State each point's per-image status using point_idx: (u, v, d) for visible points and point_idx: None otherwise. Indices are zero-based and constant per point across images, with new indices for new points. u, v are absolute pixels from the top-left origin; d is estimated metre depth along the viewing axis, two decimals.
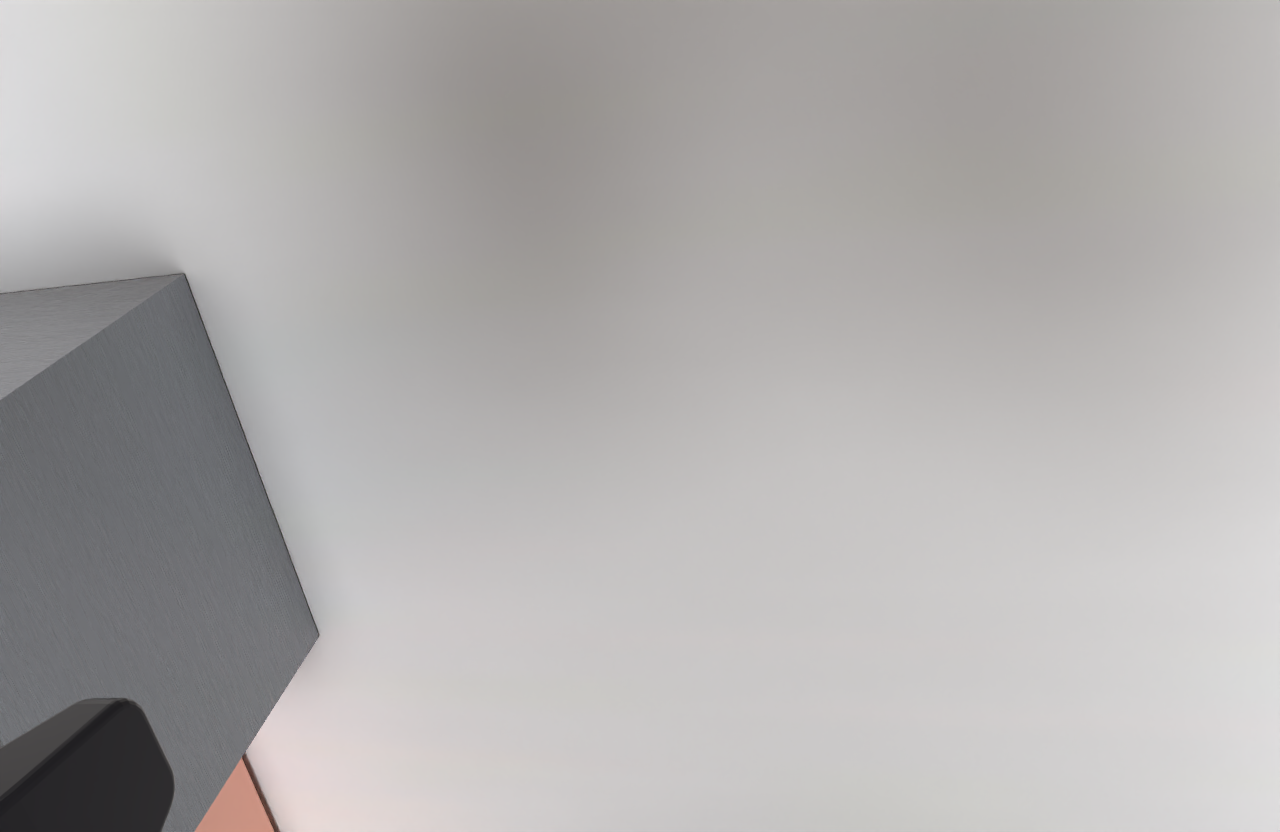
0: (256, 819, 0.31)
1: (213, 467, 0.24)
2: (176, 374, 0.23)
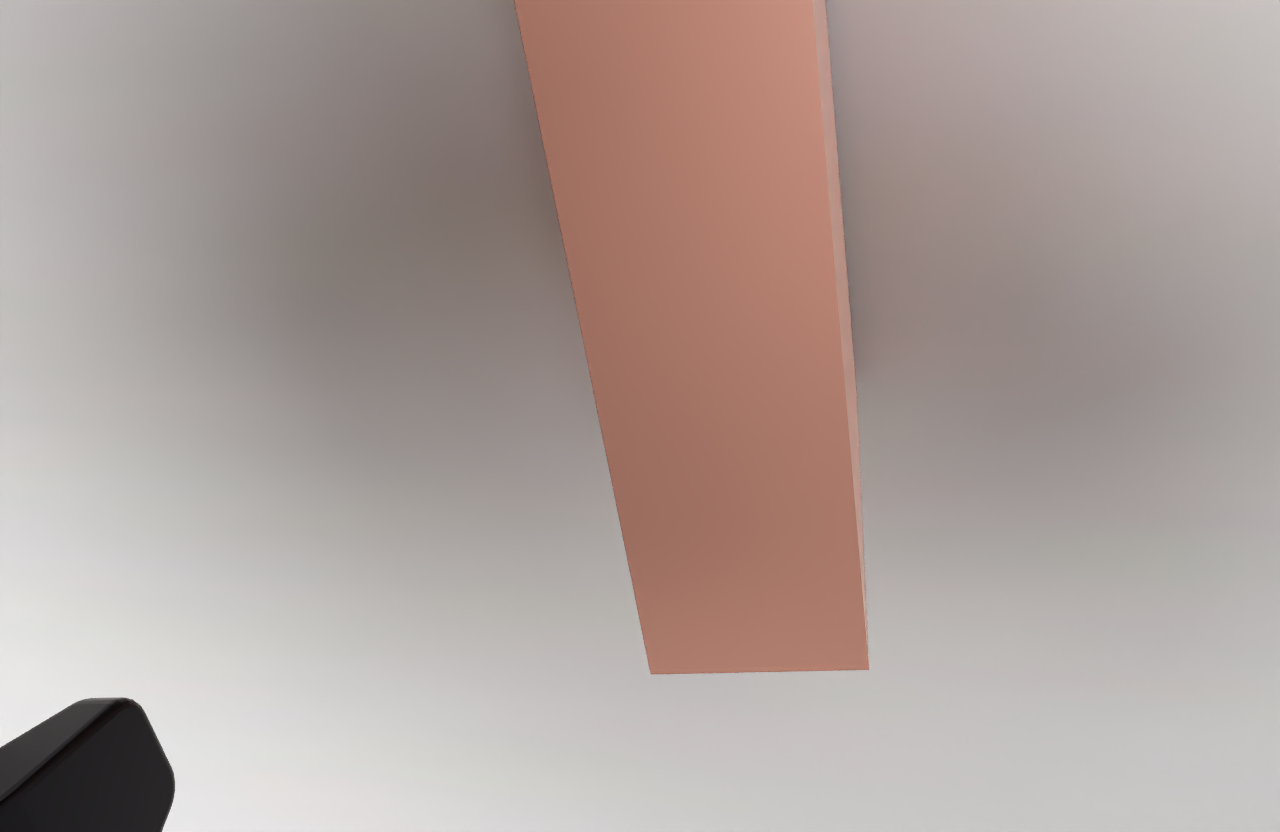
0: (839, 186, 0.15)
1: None
2: None
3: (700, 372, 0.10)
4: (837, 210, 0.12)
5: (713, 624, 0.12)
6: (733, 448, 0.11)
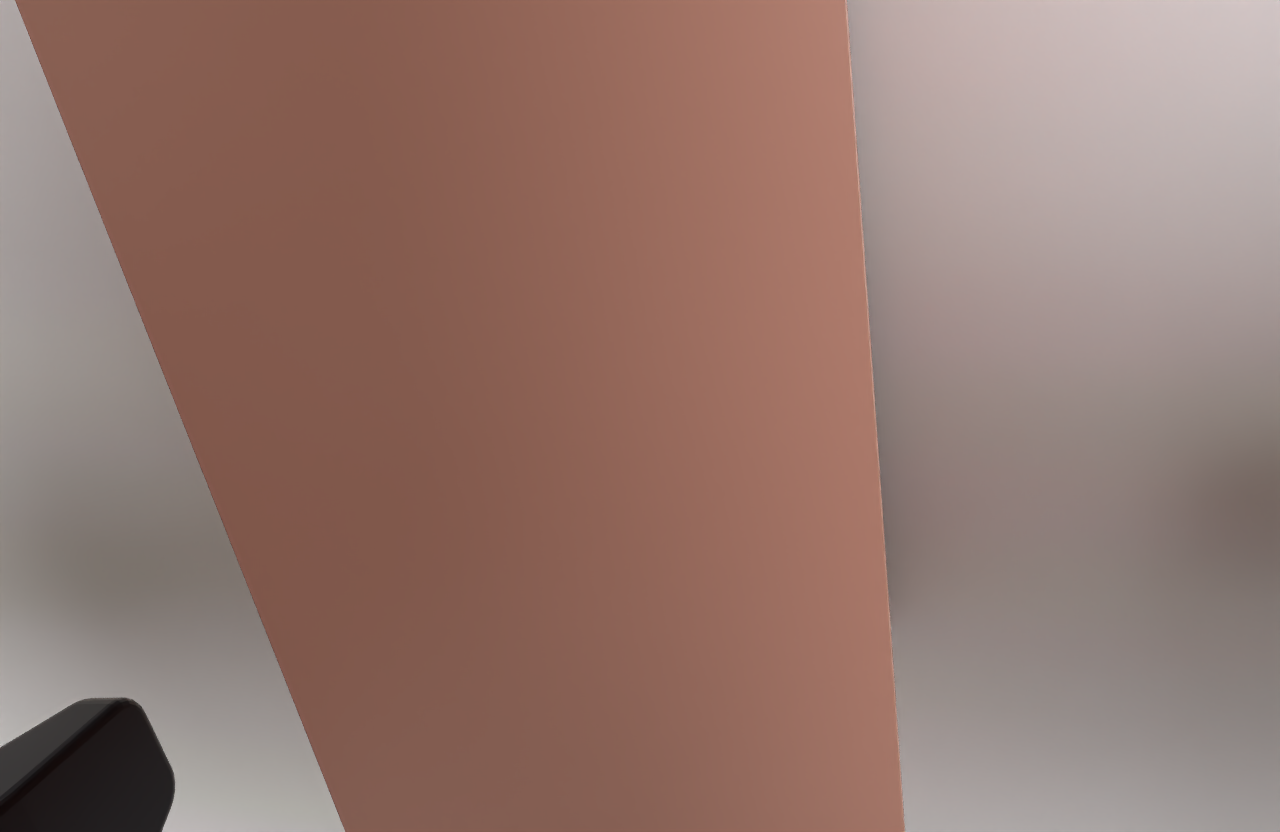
0: None
1: None
2: None
3: None
4: None
5: None
6: None
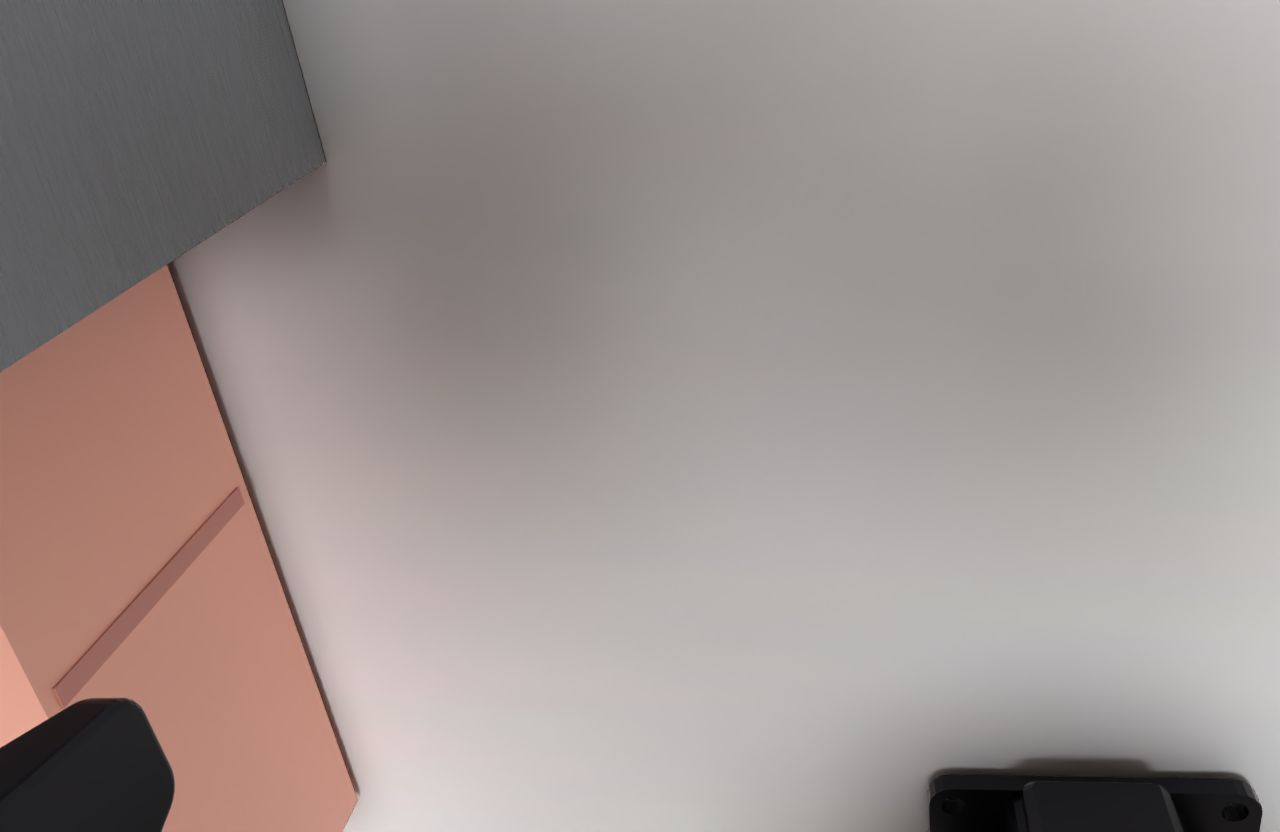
0: (310, 704, 0.25)
1: None
2: None
3: None
4: (238, 786, 0.22)
5: None
6: None
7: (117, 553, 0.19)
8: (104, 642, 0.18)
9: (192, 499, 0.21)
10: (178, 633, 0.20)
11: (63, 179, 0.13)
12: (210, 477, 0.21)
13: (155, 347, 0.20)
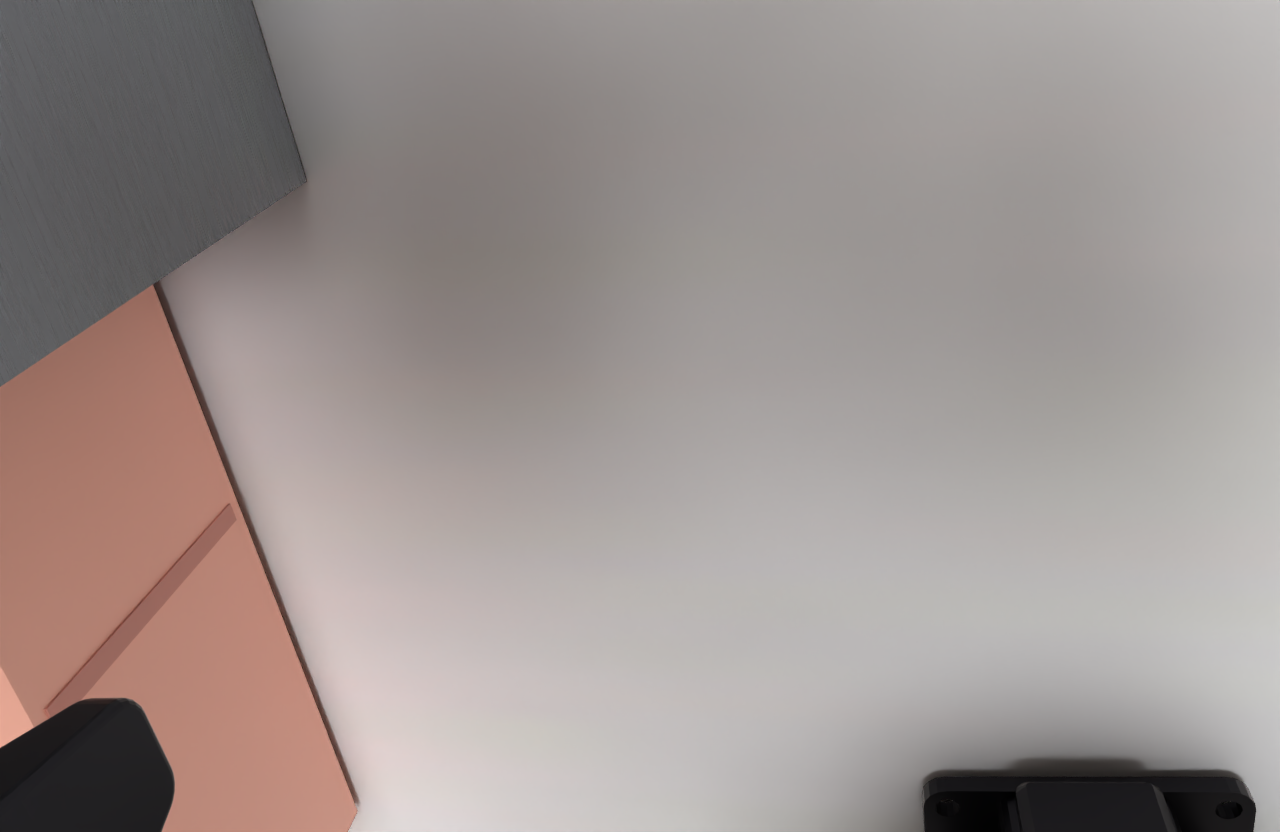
0: (307, 717, 0.25)
1: None
2: None
3: None
4: (235, 800, 0.22)
5: None
6: None
7: (108, 573, 0.19)
8: (96, 661, 0.18)
9: (183, 517, 0.21)
10: (171, 651, 0.20)
11: (37, 210, 0.13)
12: (201, 495, 0.21)
13: (143, 368, 0.20)
